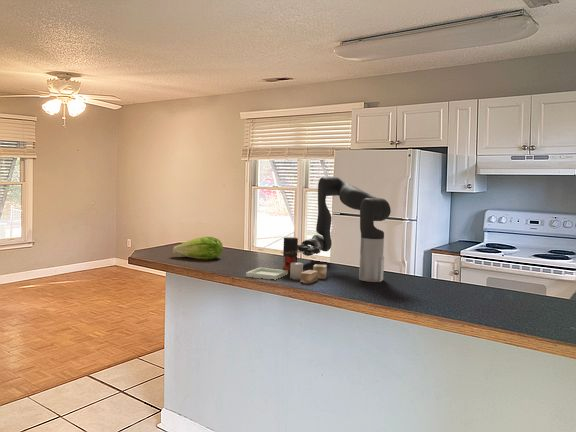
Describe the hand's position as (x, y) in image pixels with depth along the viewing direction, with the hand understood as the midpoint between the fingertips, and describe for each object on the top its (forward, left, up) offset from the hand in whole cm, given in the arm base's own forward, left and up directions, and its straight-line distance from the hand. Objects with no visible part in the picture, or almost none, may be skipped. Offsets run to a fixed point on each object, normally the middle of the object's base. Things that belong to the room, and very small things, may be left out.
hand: (299, 251), depth 215 cm
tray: (+6, +21, -8) cm, 23 cm away
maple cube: (-14, +13, -8) cm, 21 cm away
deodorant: (0, +11, -8) cm, 14 cm away
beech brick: (-13, +23, -8) cm, 28 cm away
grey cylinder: (-6, +20, -8) cm, 22 cm away
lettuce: (+54, -3, -8) cm, 55 cm away
